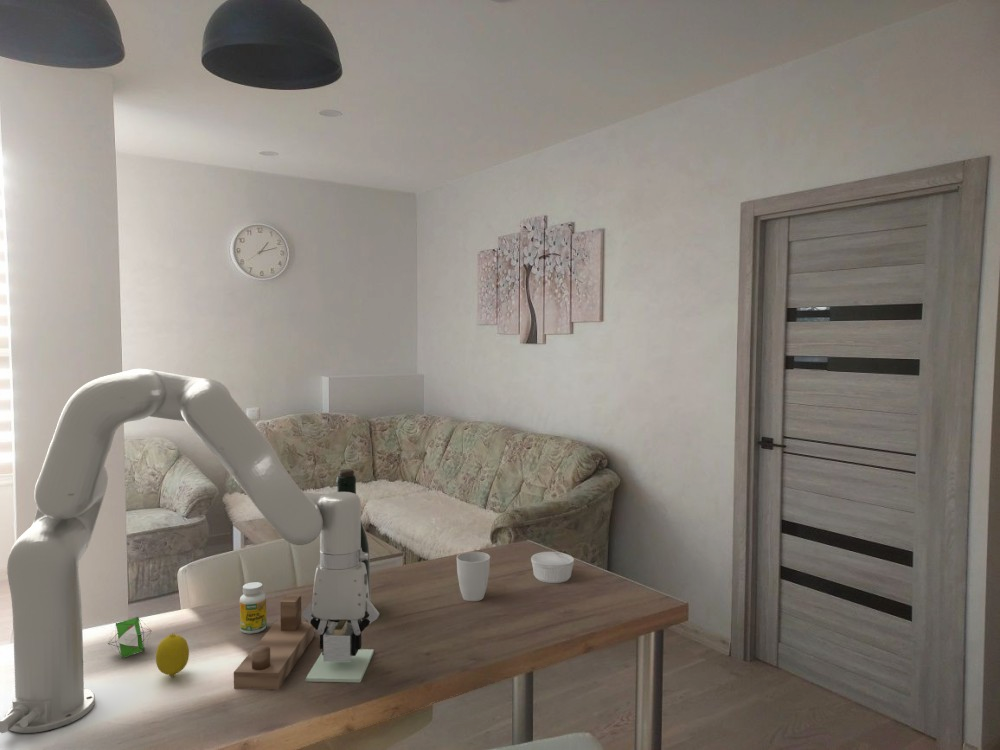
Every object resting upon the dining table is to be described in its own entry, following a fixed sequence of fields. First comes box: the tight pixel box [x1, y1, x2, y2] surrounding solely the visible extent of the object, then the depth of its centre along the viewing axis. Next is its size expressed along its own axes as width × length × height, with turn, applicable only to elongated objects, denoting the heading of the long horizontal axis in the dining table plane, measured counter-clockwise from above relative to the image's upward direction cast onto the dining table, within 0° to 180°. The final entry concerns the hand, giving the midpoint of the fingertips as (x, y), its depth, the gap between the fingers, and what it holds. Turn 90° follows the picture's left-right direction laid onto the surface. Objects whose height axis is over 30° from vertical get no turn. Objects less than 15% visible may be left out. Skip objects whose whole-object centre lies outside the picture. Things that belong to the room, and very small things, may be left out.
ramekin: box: [530, 551, 575, 584], centre depth 182 cm, size 11×11×5 cm
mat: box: [305, 648, 375, 683], centre depth 132 cm, size 12×10×1 cm
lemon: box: [155, 633, 190, 678], centre depth 128 cm, size 6×6×8 cm
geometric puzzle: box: [107, 616, 152, 659], centre depth 137 cm, size 7×7×8 cm
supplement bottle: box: [239, 581, 268, 635], centre depth 148 cm, size 5×5×10 cm
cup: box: [456, 551, 491, 602], centre depth 167 cm, size 8×8×10 cm
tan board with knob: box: [233, 594, 315, 690], centre depth 134 cm, size 22×8×9 cm, turn 179°
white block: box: [323, 620, 354, 662], centre depth 132 cm, size 6×5×6 cm
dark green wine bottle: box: [333, 468, 371, 622], centre depth 156 cm, size 10×10×33 cm
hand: (340, 651), depth 132 cm, fingers closed on white block, 4 cm apart
